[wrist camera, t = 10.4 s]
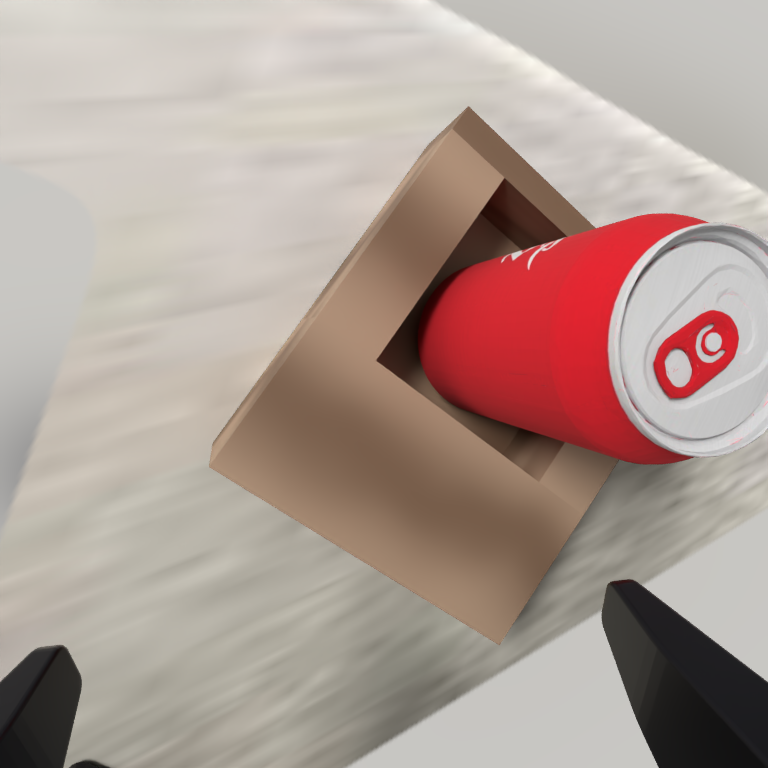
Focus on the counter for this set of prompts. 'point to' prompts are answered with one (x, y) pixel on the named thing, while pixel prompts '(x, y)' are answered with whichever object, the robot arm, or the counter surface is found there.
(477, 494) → the walnut caddy
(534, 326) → the beverage can
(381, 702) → the counter surface
